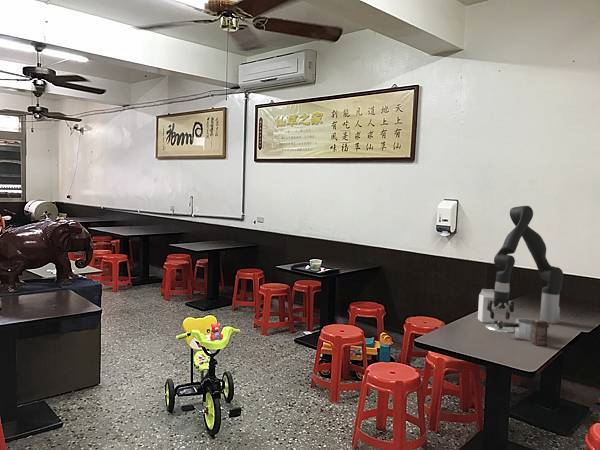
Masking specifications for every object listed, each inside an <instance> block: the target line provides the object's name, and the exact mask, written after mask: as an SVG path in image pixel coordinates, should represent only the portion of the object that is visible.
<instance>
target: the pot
mask: <svg viewBox="0 0 600 450" xmlns="http://www.w3.org/2000/svg"><path fill="white" fill-rule="evenodd" d="M532 320H535V319H534V318H526V317H523V318H521V317H520V318H516V319H515V322H503V323H502V326H503V327H512V328H514V329H515V331H514V337H515V338H516V337H517V338H518V339H521V340H525V341H531V335H532ZM549 327H550V323H548V328H549Z"/></svg>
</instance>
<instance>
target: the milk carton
mask: <svg viewBox="0 0 600 450" xmlns="http://www.w3.org/2000/svg"><path fill="white" fill-rule="evenodd" d="M494 291H495V289H491V288H489V289H487V288H482V289H481V291H480V293H479V295H478V308H477V310H478V311H477V320H478V321H480V322H481V323H486V324H495V316H496V315H495V314H496V311H495V312H494V319H491V317H490V311H488V310H487V306H488V300H492V301H493V300H494ZM493 305H494V303H493V304H492V306H493Z"/></svg>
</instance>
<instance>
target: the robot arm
mask: <svg viewBox="0 0 600 450" xmlns="http://www.w3.org/2000/svg"><path fill="white" fill-rule="evenodd" d="M509 216H510V220H511V221H512V223H513V224H514V226H515V227H514V228H513V229H512V230H511V231H509V233H508V234H507V236H506V237H505V240H504V242H503V245H502V246H501V248H500V249H499V251H498V252H497V253H496V254H495V255H494V258H493V264H494V265H495V266H497V267H499V268H500V267H501V268H505V269H504V270H498V271H497V272H496V274H495V282H494V300H493V301H492V300H488V306H487V310H488V311H490V317H491V319H494V312H495V313H496V310H500V309H503V310H505V320H509V319H510V317H511V313H513V312H514V311H515V307H514V306H515V303H514V300H509V298H510V290H511V289H510V288H511V286H510V284H511V283H510V282H511V276H512V275H511V274H512V272H513V271H512V270H513V268H514V266H515V263H516V259H515V257H514V256H513V254H515V252H516V251H517V247H518V246H519V242H520V241H521V238H522V239H523V241H524V243H525V245H526V248H527V249H528V251H529V253H530V254H531V256H532V258H533V261H534V263H535V265H536V267H537V268H536V269H537V271H538V272H539V273H538V274H539V275H540V277H541V279H543V280H544V281H546V282H548V283H547V286H544V287H542V288H541V289H542V290H541V300H540V301H541V302H540V313H539V320H545V321H547V322H548V324H549V325H550V324H552V325H553V324H554V325H555V324H559V323H560V315H561V307H560V306H559V305H560V293H561V290H562V288H563V280H564V272H563V270H562V269H561V268H560V267H559V266H553V265H551V264H550V263H549V261H548V259H547V255H546V254H547V245H546V243H545V241H544V239H543V237H542V236H541V235H540V234H539V233H538V232H537V231H535V230H534V229H532V227H530V226H529V225H530V223H531V221H532V220H533V217H534V211H533V208H532V207H531V206H529V205H521V206H520V205H519V206H514V207H511V208H510V210H509ZM511 254H512V255H511ZM493 303H494V305H493V306H492V304H493ZM508 305H509V306H508ZM494 320H495V319H494Z"/></svg>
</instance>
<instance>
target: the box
mask: <svg viewBox="0 0 600 450" xmlns="http://www.w3.org/2000/svg"><path fill="white" fill-rule="evenodd" d="M548 324H549V323H548V322H547V321H545V320H540V319H534V320H532V335H531V342H530V343H531V345H532V344H533V345H534V346H547V344H548V328H549V327H548Z"/></svg>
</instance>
